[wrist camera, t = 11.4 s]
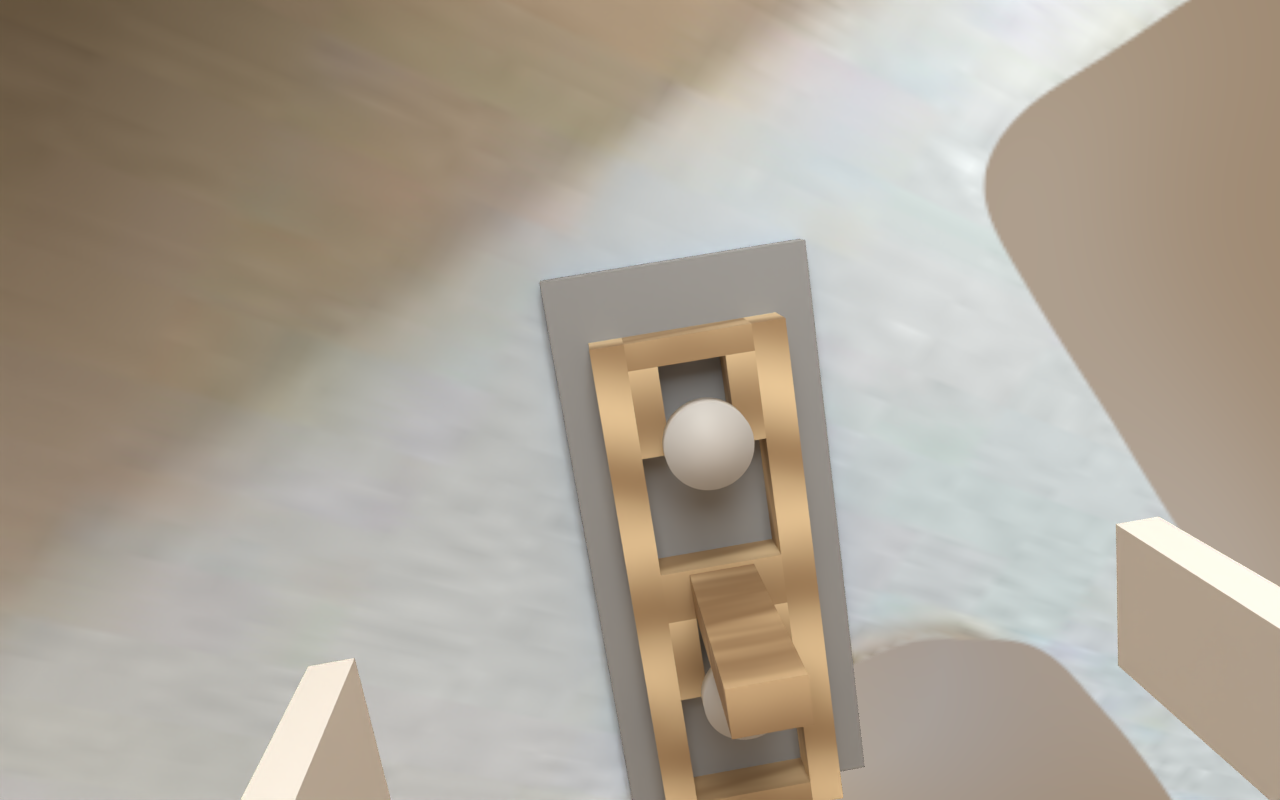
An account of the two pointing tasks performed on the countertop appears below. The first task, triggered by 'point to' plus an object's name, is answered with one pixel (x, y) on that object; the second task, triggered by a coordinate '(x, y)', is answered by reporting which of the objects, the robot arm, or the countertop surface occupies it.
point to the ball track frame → (724, 568)
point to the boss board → (692, 505)
